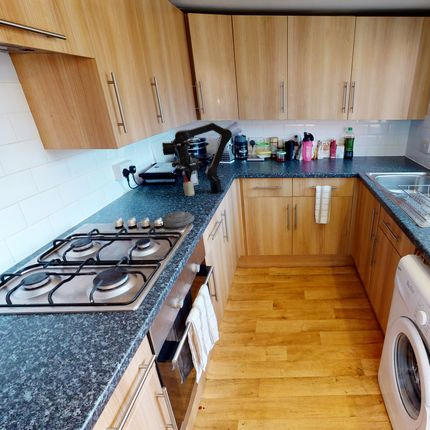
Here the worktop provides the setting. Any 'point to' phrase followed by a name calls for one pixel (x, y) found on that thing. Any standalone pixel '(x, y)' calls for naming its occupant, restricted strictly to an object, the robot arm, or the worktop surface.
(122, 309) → the worktop surface
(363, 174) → the worktop surface
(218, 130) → the robot arm
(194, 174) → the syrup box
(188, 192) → the bottle
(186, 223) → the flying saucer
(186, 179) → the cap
